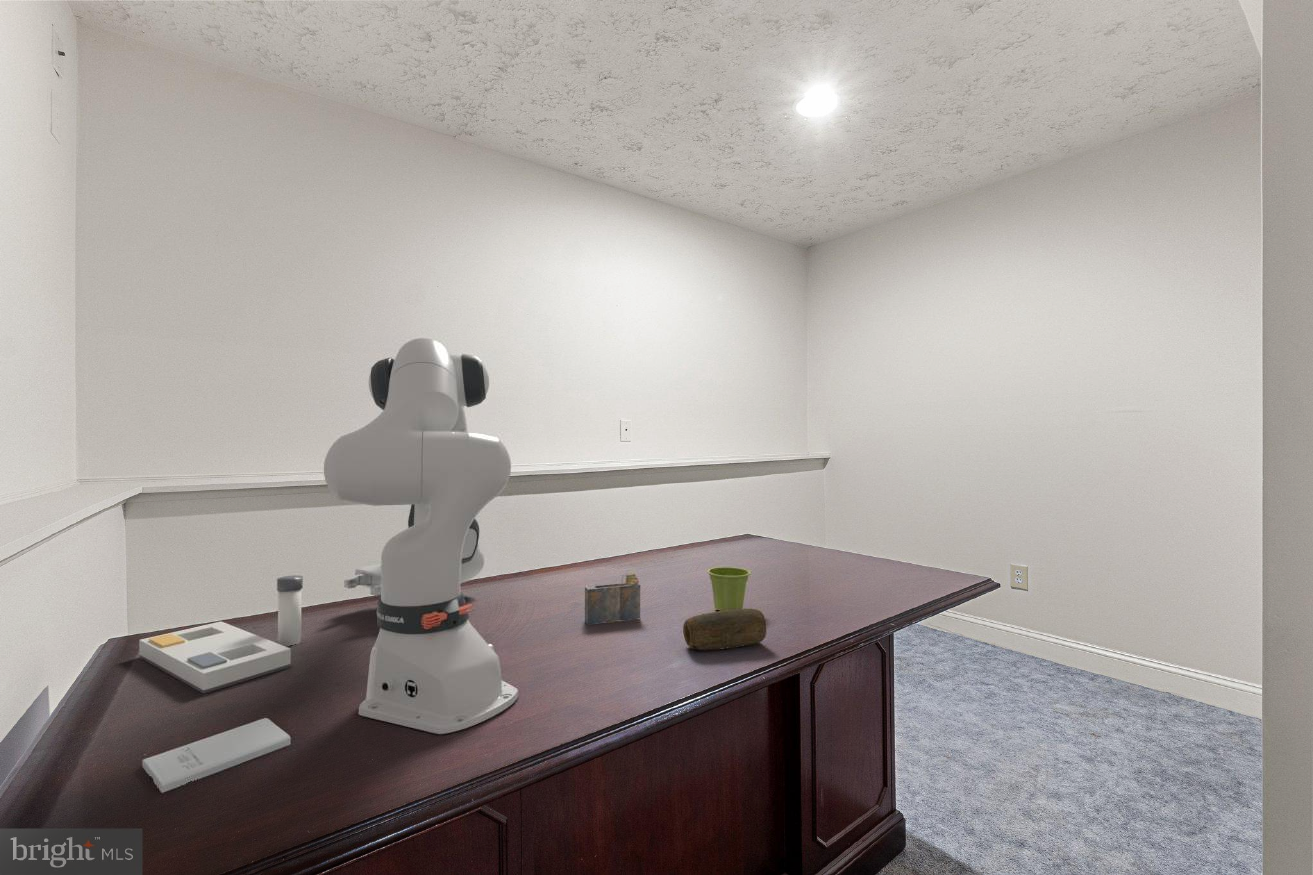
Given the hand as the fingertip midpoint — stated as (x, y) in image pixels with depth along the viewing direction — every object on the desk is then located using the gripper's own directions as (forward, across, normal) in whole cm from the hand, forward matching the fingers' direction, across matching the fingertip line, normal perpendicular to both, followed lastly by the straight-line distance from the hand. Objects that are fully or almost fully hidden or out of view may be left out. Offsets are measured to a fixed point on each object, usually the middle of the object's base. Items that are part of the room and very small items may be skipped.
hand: (358, 587), depth 118 cm
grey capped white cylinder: (+13, 0, +7) cm, 15 cm away
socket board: (+25, -1, +7) cm, 26 cm away
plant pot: (-50, +59, +7) cm, 78 cm away
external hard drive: (+37, +33, +8) cm, 50 cm away
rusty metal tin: (-30, +42, +8) cm, 52 cm away
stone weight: (-29, +68, +7) cm, 75 cm away
